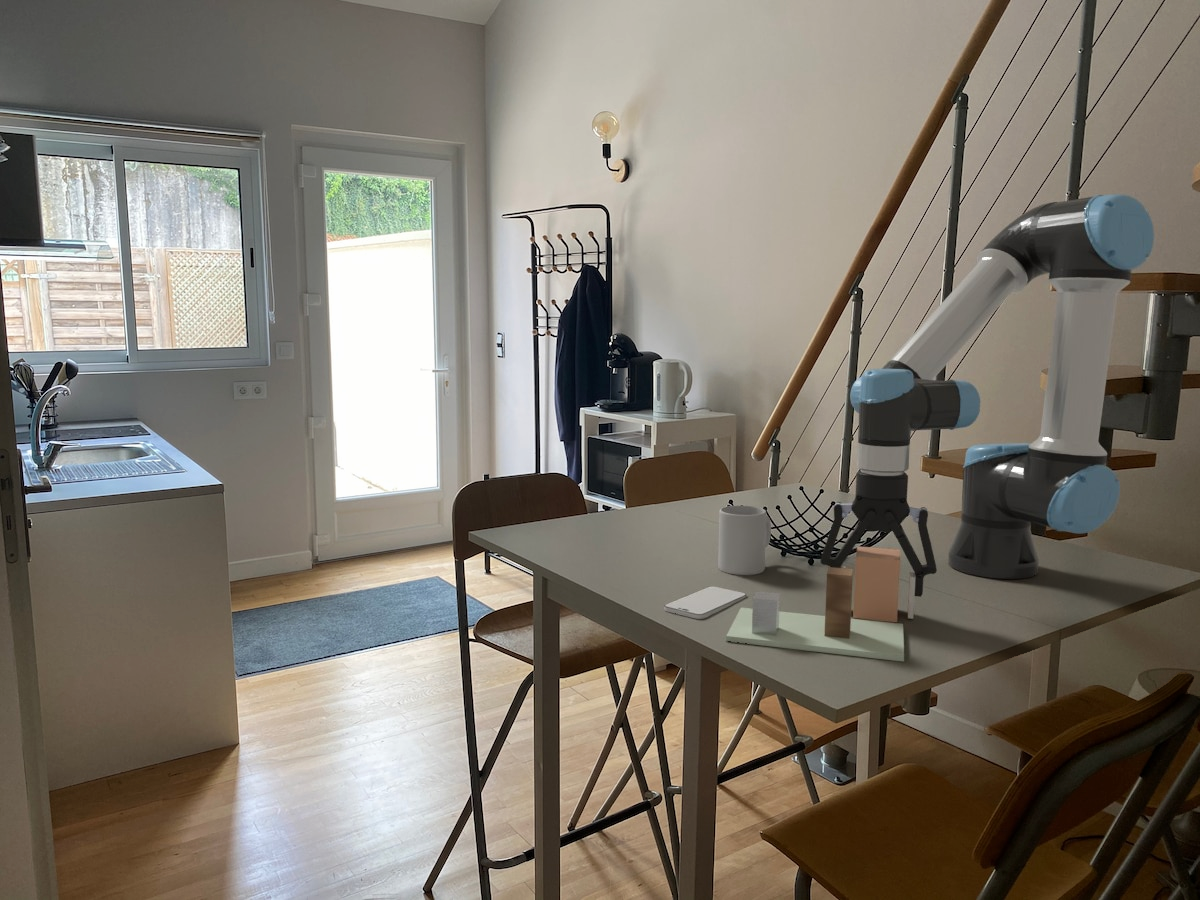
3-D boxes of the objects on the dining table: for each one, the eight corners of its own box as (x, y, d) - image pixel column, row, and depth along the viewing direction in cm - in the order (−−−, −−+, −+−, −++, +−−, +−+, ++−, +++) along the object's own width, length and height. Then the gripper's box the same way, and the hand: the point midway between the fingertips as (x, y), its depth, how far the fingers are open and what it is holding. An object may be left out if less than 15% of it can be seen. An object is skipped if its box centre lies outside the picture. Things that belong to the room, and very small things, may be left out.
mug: (744, 578, 156) (745, 517, 154) (708, 568, 162) (709, 509, 161) (786, 565, 164) (788, 508, 162) (750, 556, 170) (751, 500, 168)
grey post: (778, 632, 129) (779, 593, 128) (775, 641, 126) (776, 600, 125) (755, 630, 130) (756, 591, 129) (751, 638, 127) (752, 598, 126)
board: (902, 629, 131) (903, 624, 130) (903, 661, 118) (904, 655, 118) (740, 612, 138) (740, 607, 138) (726, 641, 126) (726, 635, 126)
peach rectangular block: (896, 609, 139) (899, 549, 138) (897, 622, 133) (900, 560, 132) (854, 605, 141) (857, 546, 140) (853, 617, 135) (855, 556, 134)
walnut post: (850, 635, 128) (853, 569, 126) (848, 644, 125) (852, 575, 123) (825, 633, 129) (828, 567, 127) (824, 641, 126) (826, 573, 124)
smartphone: (749, 593, 146) (701, 615, 134) (748, 600, 146) (700, 622, 135) (711, 585, 151) (661, 605, 139) (710, 592, 151) (661, 612, 139)
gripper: (959, 470, 134) (950, 611, 137) (809, 463, 141) (804, 597, 144) (963, 479, 127) (953, 628, 130) (804, 471, 134) (799, 612, 137)
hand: (875, 612), depth 137 cm, fingers open, 10 cm apart
